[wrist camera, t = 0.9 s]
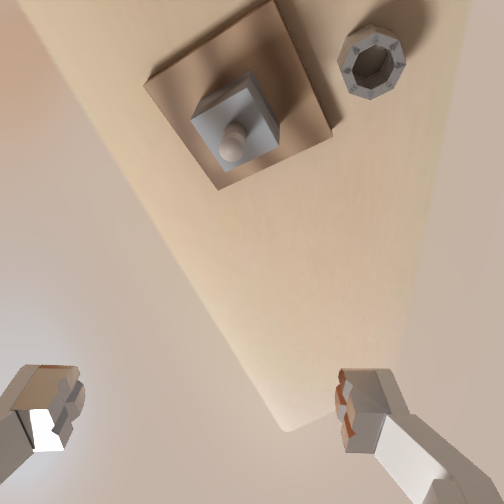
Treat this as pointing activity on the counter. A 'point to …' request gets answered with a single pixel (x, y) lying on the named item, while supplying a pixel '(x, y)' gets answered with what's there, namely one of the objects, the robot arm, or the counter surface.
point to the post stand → (242, 98)
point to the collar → (388, 71)
